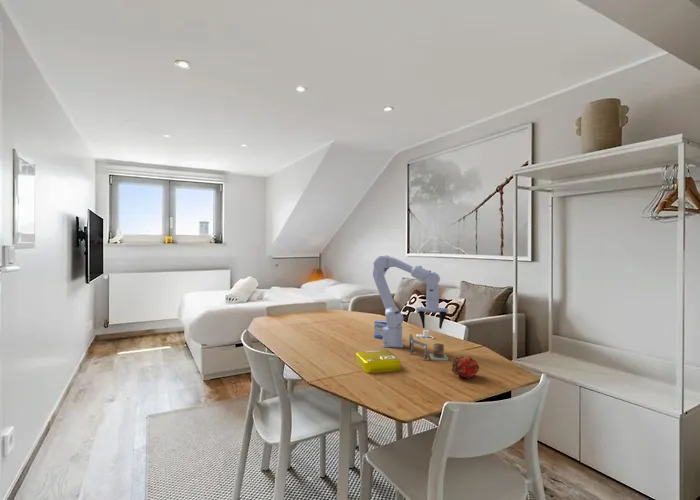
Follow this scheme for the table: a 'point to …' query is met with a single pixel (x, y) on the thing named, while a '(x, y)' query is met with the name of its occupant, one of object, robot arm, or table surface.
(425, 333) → the teacup and saucer
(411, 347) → the buzz wire
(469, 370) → the dragon fruit
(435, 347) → the brown domed cylinder
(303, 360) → the table surface
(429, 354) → the pad
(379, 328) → the medicine box
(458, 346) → the table surface
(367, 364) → the element tile
